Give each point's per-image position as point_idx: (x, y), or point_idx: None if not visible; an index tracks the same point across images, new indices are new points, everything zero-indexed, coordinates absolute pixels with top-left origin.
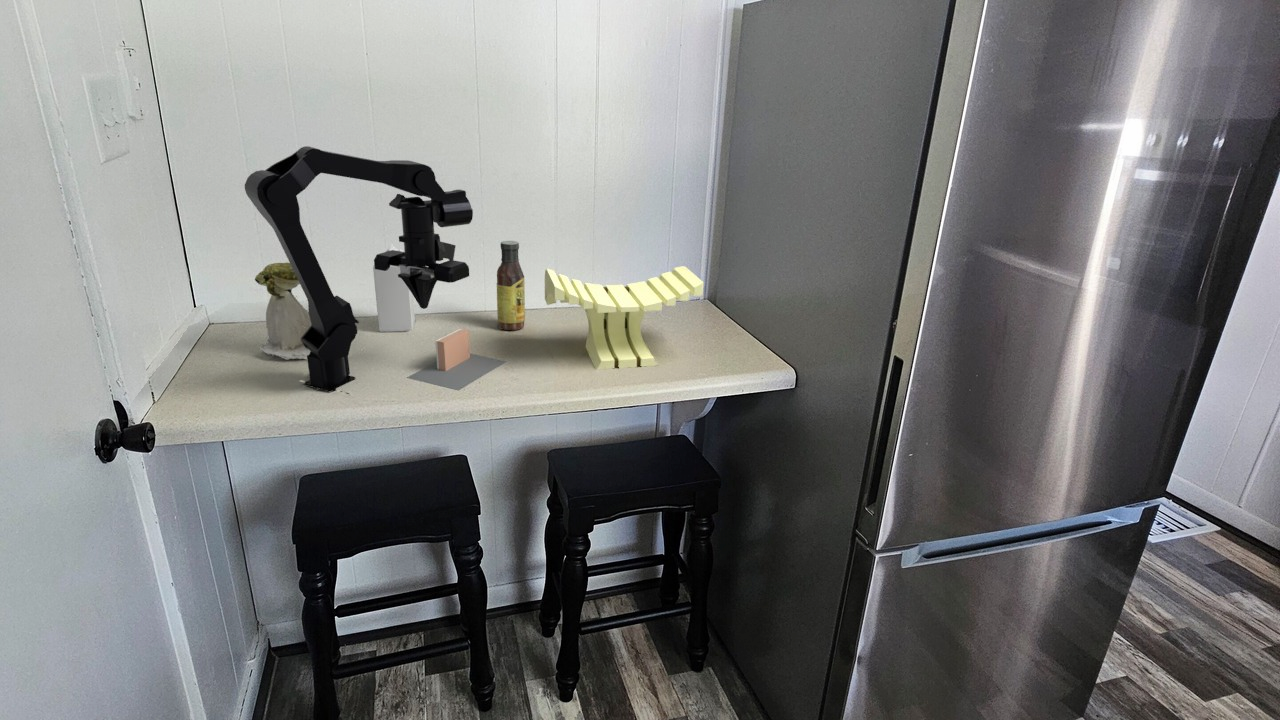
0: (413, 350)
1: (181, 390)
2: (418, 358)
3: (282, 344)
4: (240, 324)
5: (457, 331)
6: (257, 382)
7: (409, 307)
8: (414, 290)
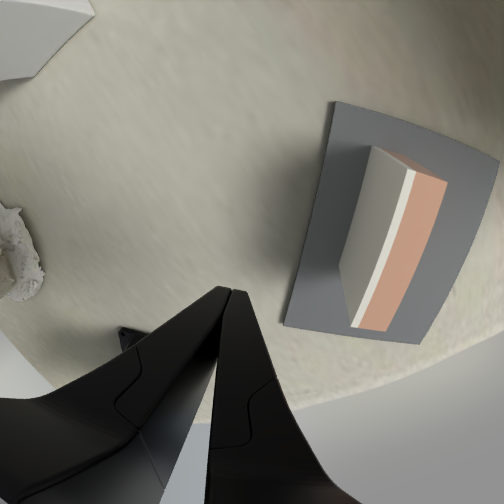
0: (180, 137)
1: (48, 376)
2: (234, 191)
3: (5, 294)
4: None
5: (406, 210)
6: (75, 359)
7: (38, 6)
8: (176, 455)
